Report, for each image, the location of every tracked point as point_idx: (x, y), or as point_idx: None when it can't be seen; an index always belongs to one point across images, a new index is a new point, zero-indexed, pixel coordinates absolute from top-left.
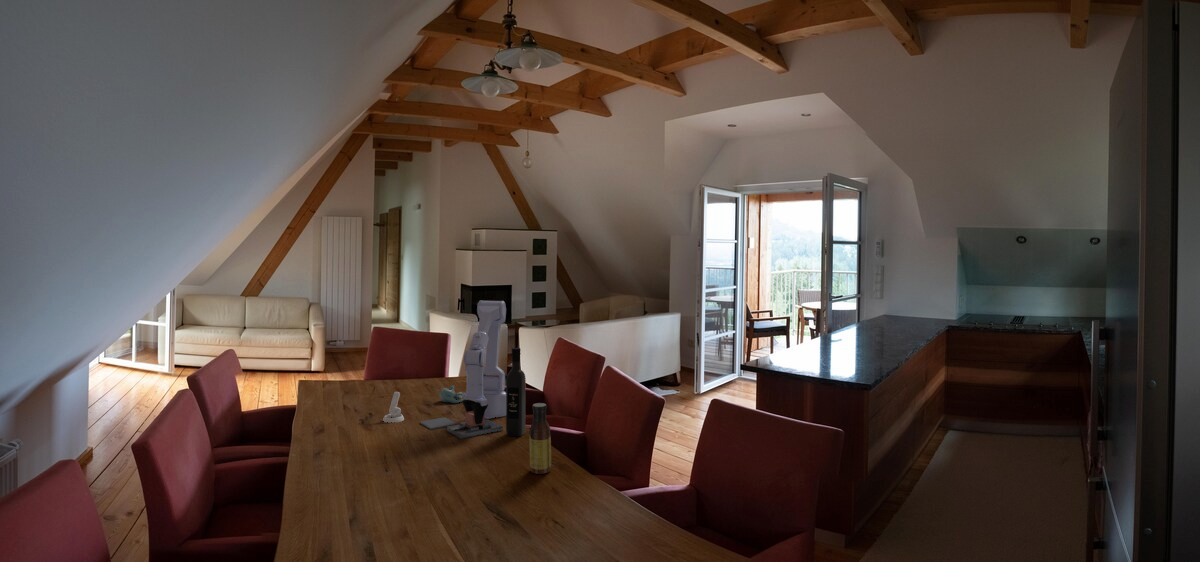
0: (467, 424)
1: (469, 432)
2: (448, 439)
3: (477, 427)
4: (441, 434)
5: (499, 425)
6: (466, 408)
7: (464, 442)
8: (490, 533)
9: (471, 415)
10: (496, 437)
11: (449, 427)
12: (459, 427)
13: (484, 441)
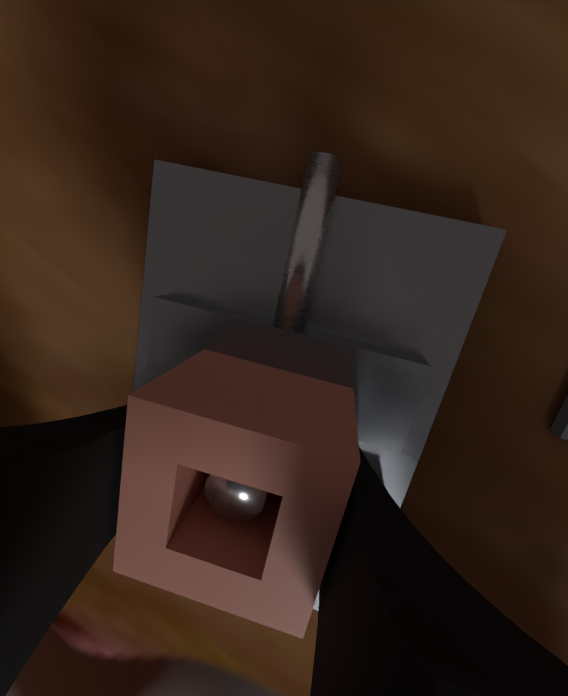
0: (297, 373)
1: (152, 265)
2: (241, 63)
3: (147, 367)
4: (437, 110)
5: None
6: (369, 538)
7: (76, 130)
8: None
9: (139, 396)
10: (42, 388)
11: (454, 231)
12: (290, 253)
13: (12, 269)
